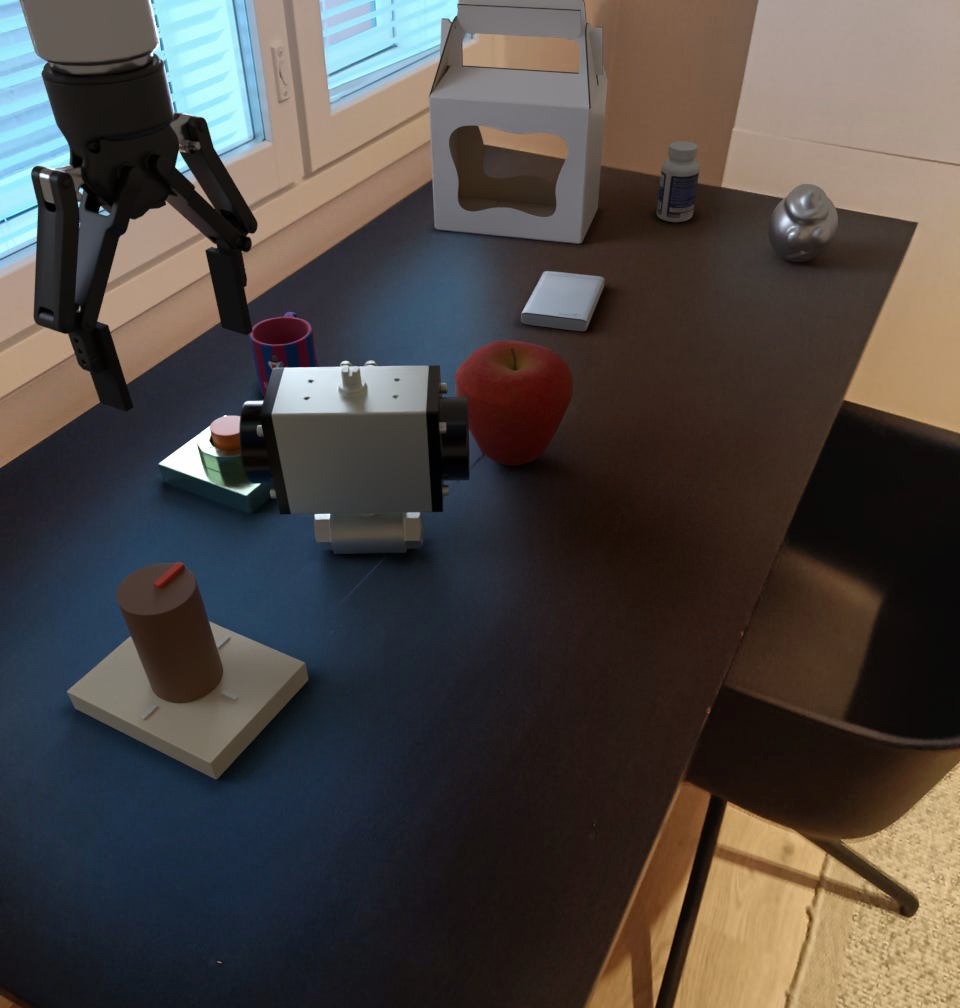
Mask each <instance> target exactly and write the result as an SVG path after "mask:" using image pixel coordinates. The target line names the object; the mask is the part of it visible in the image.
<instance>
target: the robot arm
mask: <svg viewBox="0 0 960 1008" xmlns="http://www.w3.org/2000/svg"><path fill="white" fill-rule="evenodd" d="M19 4H20V7H21V10H22V14H23V17H24V21H25V24H26V27H27V30H28V33H29V37H30V40H31V43H32V44H31V45H32V47H33V50H34V52H35V54H36V56H38V57H39V58H40V59H41V60H43V61H44V62H46V63H45V64H44V66H43V67H42V69H43V70H42V71H41V73H40V74H41V77H42V81H43V84H44V88H45V92H46V94H47V98H48V101H49V105H50V108H51V112H52V114H53V118H54V121H55V124H56V126H57V128H58V129H59V132H61V134H62V135H63V137H64V139H65V140H66V143H67V145H68V148H69V162H68V164H67V165H63V166H59V167H54V168H51V167H47V166H43V165H35V166H33V168H32V169H31V172H30V177H31V178H30V179H31V183H32V186H33V191H34V194H35V199H36V203H37V219H36V220H37V221H36V247H35V269H34V295H33V321H34V323H35V324H36V325H37V326H41V327H43V328H45V329H49V330H52V331H54V332H58V333H61V334H64V335H68V338H69V341H70V344H71V347H72V349H73V352H74V355H75V358H76V361H77V364H78V366H79V367H80V368H81V369H82V370H84V371H86V372H89V374H90V378H91V380H92V382H93V385H94V388H95V392H96V394H97V397H98V400H99V403H101V404H103V405H106V406H109V407H111V408H114V409H117V410H120V411H123V412H125V413H127V412H128V411H130V410H132V409H133V408H134V404H133V399H132V398H131V394H130V390H129V388H128V385H127V382H126V379H125V375H124V372H123V368H122V365H121V362H120V358H119V356H118V352H117V349H116V345H115V343H114V339H113V336H112V333H111V330H110V327H109V324H106V323H103V322H100V321H99V317H100V314H101V309H102V305H103V302H104V297H105V294H106V289H107V286H108V283H109V279H110V274H111V271H112V267H113V264H114V263H113V262H114V259H115V256H116V252H117V248H118V244H119V240H120V237H122V236H123V235H125V234H126V233H127V231H128V228H129V224H130V220H134V221H135V220H137V219H140V218H142V217H143V216H145V214H147V212H148V211H150V210H157V209H161V208H163V207H165V206H167V203H168V204H169V205H170V206H171V208H172V209H174V210H175V211H177V212H178V214H180V215H181V216H182V217H183V218H185V220H187V222H189V223H190V224H191V225H192V226H193V227H195V229H197V230H198V231H199V232H200V233H201V234H202V235H203V236H205V237H206V238H207V239H208V240H209V241H210V242H211V243H212V244H214V245H216V247H214V246H210V247H209V248H206V249H205V250H204V251H205V256H206V262H207V266H208V270H209V274H210V279H211V283H212V288H213V292H214V298H215V302H216V306H217V311H218V315H219V321H220V324H221V328H222V329H225V330H229V331H232V332H235V333H237V334H241V335H244V336H249V334H250V333H251V332H253V330H252V327H253V326H252V320H251V315H250V309H249V306H248V299H247V295H246V289H245V288H246V287H247V284H248V276H247V272H246V266H245V261H244V256H243V253H248V252H250V251H251V249H252V246H253V242H252V238H251V237H250V236H248V235H249V234H250V235H254V234H255V233H257V230H258V227H259V225H258V220H257V219H256V217H255V215H254V213H253V212H252V210H251V208H250V206H249V205H248V203H247V202H246V200H245V198H244V196H243V194H242V193H241V191H240V190H239V188H238V186H237V185H236V183H235V180H233V178H232V176H231V175H230V173H229V171H228V169H227V168H226V166H225V164H224V162H223V161H222V159H221V158H220V155H219V154H218V153H217V151H216V149H215V147H214V144H213V139H212V135H211V133H210V128H209V125H208V122H207V120H206V119H205V118H204V117H203V116H198V115H192V114H189V113H183V112H178V111H175V106H174V102H173V98H172V93H171V89H170V84H169V80H168V75H167V70H166V65H165V62H164V60H163V59H162V58H160V56H159V55H157V53H155V52H156V50H157V49H158V47H159V46H160V44H161V43H160V37H159V33H158V29H157V25H156V20H155V14H154V11H153V5H152V1H151V0H19ZM179 154H180V156H181V157H182V160H183V161H184V162H185V164H186V166H187V167H188V169H189V170H190V172H191V174H192V175H193V177H194V178H195V180H196V181H197V183H198V185H199V186H200V188H201V189H202V191H203V193H204V194H205V196H206V197H207V199H208V200H206V199H205V198H204V197H203V196H202V195H201V194H200V193H199V192H198V191H197V190H196V186H195V184H193V183H192V182H191V180H189V179H188V178H187V177H186V175H184V174H183V173H182V172H181V171H180V170H179V169H178V168H177V166H176V165H177V162H178V161H177V160H178V157H179ZM80 188H81V190H82V192H80ZM208 201H209V202H210V203H209V202H208ZM101 208H102V209H103V210H104V211H105V212H107V213H108V215H105V214H102V213H100V209H101Z"/></svg>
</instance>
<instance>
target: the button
mask: <svg viewBox="0 0 960 1008" xmlns="http://www.w3.org/2000/svg"><path fill="white" fill-rule="evenodd" d="M223 416H224V417H223ZM223 416H221V417H218V418H217V419H215V420H213V421H212V422H211V423H210V425H209V426H210V432H211V436H212V440H213V444H214V446H215V447H216V448H218V449H221V450H234V449H237V448H240V437H239V427H240V415H233V414H232V415H226V416H225V415H223Z"/></svg>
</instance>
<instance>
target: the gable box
mask: <svg viewBox="0 0 960 1008" xmlns="http://www.w3.org/2000/svg"><path fill="white" fill-rule="evenodd" d="M456 8H457V12H456V13H457V14H456V15H455V16H454V18H453V19H452V21H451V20H450V18H444V17H443V18H441V21H440V22H441V23H440V46H439V47H440V49H439V50H440V51H439V62H438V65H437V69H436V72H435V76H434V78H433V82H432V85H431V87H430V88H431V89H430V91H429V95H428V112H429V130H430V131H429V133H430V134H429V135H430V136H429V137H430V155H431V176H432V177H431V178H432V181H431V182H432V197H433V198H432V201H433V203H432V204H433V221H434V222H433V224H434V225H433V226H434V229H435V230H436V231H443V232H452V233H463V234H472V235H473V234H474V235H481V236H482V235H484V236H493V237H496V236H497V237H503V238H513V239H522V240H523V239H524V240H533V241H545V242H555V243H564V244H574V245H581V244H582V243H583V242H584V239H585V237H586V235H587V233H588V231H589V228H590V227H591V225H592V222H593V220H594V218H595V216H596V213H597V212H598V209H599V197H600V184H601V173H602V171H601V170H602V160H603V159H602V158H603V146H604V145H603V144H604V132H605V121H606V107H607V96H608V95H607V93H608V83H609V82H608V81H609V80H608V76H607V72H606V70H605V67H604V26H595V27H594V28H593V25H592V23H591V22H587V11H586V3H585V0H458V3H457V4H456ZM467 34H468V35H473V36H475V34H481V35H499V36H516V37H517V36H518V37H535V38H538V37H539V38H550V39H551V38H552V39H553V38H554V39H566V40H568V41H572V40H575V41H576V43H577V45H578V47H579V67H578V72H574V71H560V70H559V71H558V70H544V69H543V70H542V69H541V70H540V69H527V68H512V67H511V68H509V67H493V66H480V65H479V66H478V65H464V52H463V40H464V38H465V36H466V35H467ZM480 127H486V128H489V129H493V130H498V131H501V132H505V133H508V134H514V135H533V134H548V135H554V136H557V137H559V138H560V139H562V140H563V141H564V142H565V144H566V145H567V146H566V147H567V152H566V157H565V160H564V162H563V165H562V167H561V169H560V172H559V174H558V176H557V180H556V182H555V181H552V180H550V179H547V178H545V177H541V176H538V175H533V174H516V175H511V176H505V177H493V176H489V175H488V174H487V173H486V172H485V170H484V158H485V144H484V143H485V142H484V139H483V136H482V132H481V130H480Z"/></svg>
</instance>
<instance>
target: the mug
mask: <svg viewBox="0 0 960 1008" xmlns="http://www.w3.org/2000/svg"><path fill="white" fill-rule="evenodd" d="M252 330H253V332H251V333H250V334H248V337H249V341H250V347H251V352H252V356H253V361H254V367H255V372H256V377H257V382H258V388H259V391H260V394H261V396H262V397H265V394H266V390H267V387H268V383H269V380H270V377H271V373H272V370H273V368H306V367H319V365H318V359H317V352H316V346H315V339H314V332H313V326H312V325H311V323H310V322H309V321H307V320H305V319H303V318H301V317H298V316H297V314H296V312H294V311H287V312H286V313H285V314H284V316H276V317H275V316H274V317H270V318H267V319H264V320H261V321H259V322H258V323H256V324H254V325H253V326H252Z"/></svg>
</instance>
